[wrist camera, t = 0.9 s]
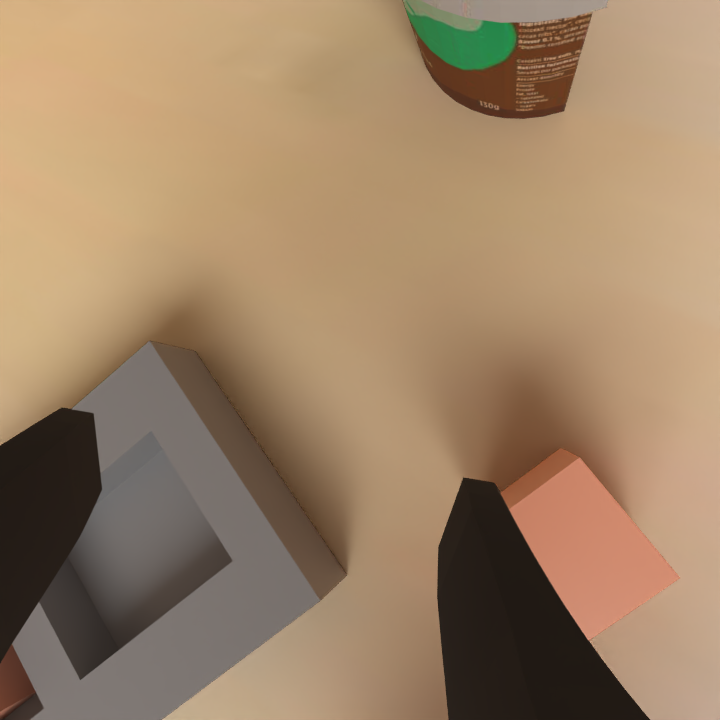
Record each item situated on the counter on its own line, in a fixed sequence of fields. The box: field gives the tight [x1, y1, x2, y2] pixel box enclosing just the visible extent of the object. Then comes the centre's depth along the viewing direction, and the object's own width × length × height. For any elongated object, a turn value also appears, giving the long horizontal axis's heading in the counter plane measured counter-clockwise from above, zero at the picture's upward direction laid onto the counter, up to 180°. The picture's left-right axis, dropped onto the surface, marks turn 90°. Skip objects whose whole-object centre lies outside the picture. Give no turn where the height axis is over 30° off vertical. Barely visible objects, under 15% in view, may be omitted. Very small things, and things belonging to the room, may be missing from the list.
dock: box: [0, 341, 346, 720], centre depth 23 cm, size 12×22×7 cm, turn 128°
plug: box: [501, 448, 680, 640], centre depth 19 cm, size 4×4×6 cm
